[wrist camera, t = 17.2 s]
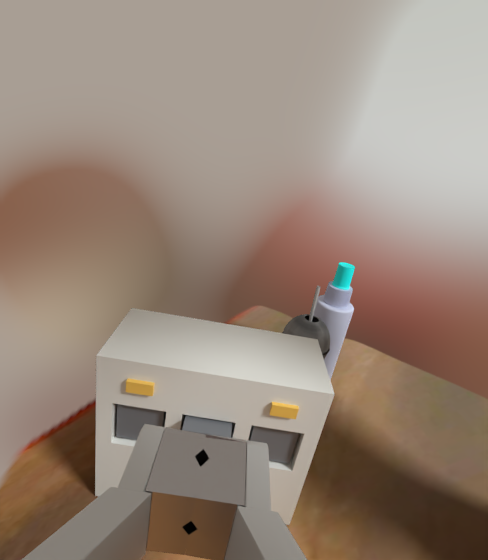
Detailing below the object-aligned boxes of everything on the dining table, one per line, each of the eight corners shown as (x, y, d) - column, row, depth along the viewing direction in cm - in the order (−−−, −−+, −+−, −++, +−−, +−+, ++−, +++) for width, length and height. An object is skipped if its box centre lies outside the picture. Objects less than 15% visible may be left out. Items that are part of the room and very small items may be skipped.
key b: (286, 434, 37) (295, 403, 36) (289, 463, 34) (299, 431, 32) (247, 427, 37) (254, 396, 36) (246, 457, 34) (254, 423, 32)
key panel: (283, 454, 45) (317, 339, 38) (289, 528, 36) (335, 397, 30) (125, 429, 44) (131, 307, 38) (93, 499, 36) (94, 358, 29)
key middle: (226, 440, 35) (233, 407, 34) (223, 472, 32) (230, 437, 30) (185, 433, 35) (189, 400, 34) (177, 465, 32) (181, 430, 30)
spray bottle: (297, 364, 64) (327, 255, 56) (329, 374, 63) (365, 264, 55) (293, 384, 59) (327, 266, 50) (328, 394, 58) (368, 276, 49)
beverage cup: (265, 414, 51) (295, 295, 43) (265, 383, 58) (292, 275, 50) (313, 423, 51) (351, 306, 43) (308, 391, 58) (340, 284, 50)
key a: (169, 415, 37) (173, 383, 35) (160, 443, 34) (164, 409, 32) (129, 409, 37) (131, 376, 35) (116, 436, 33) (117, 402, 32)
